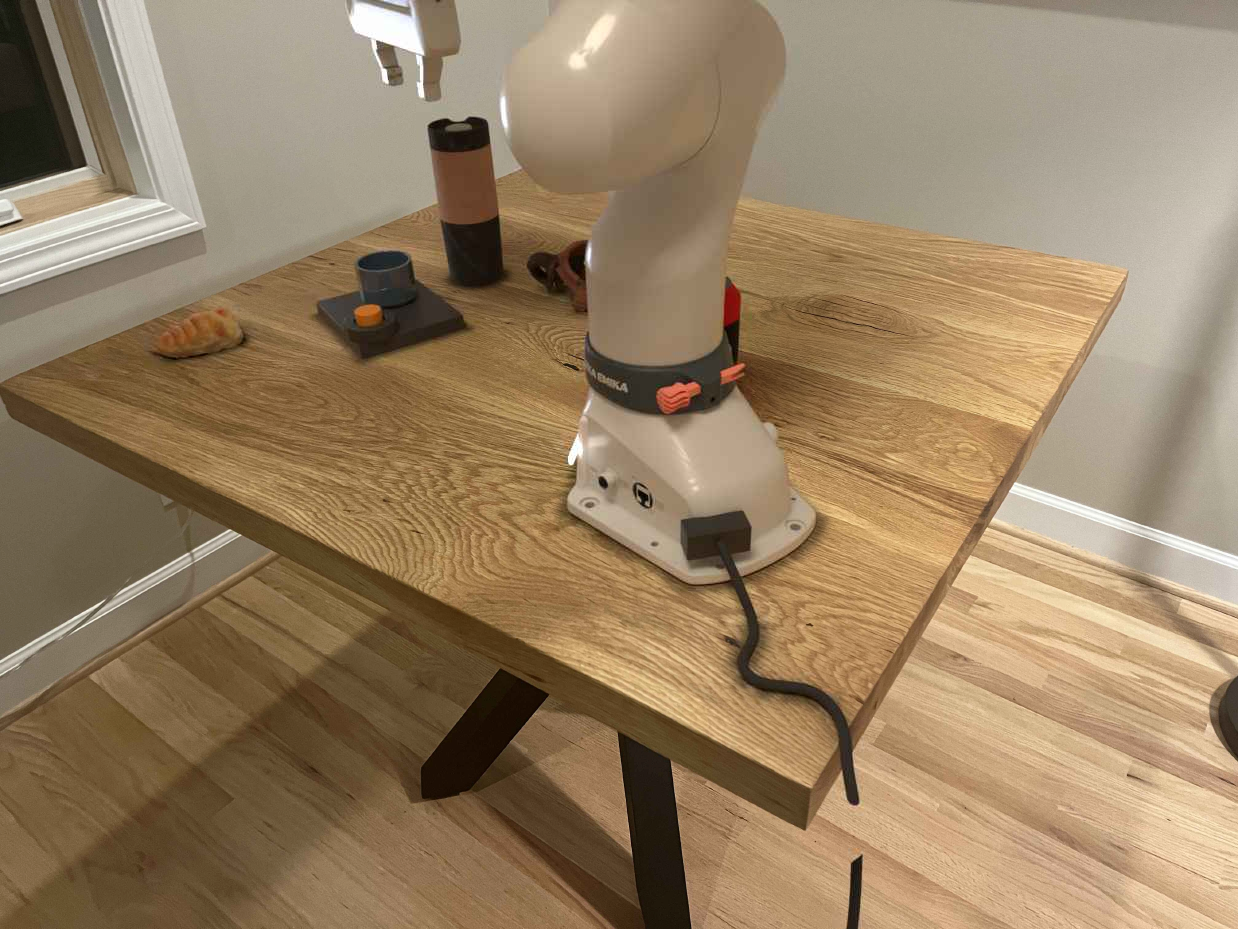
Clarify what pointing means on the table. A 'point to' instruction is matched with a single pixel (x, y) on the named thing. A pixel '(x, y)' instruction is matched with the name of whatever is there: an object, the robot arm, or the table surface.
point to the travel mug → (467, 200)
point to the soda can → (732, 317)
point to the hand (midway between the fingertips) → (411, 92)
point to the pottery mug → (562, 271)
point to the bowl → (386, 278)
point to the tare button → (368, 315)
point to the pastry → (200, 334)
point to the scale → (391, 322)
